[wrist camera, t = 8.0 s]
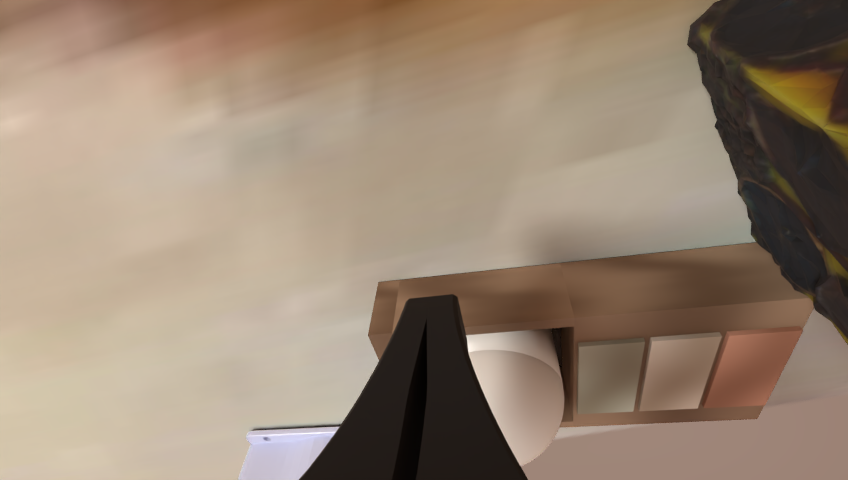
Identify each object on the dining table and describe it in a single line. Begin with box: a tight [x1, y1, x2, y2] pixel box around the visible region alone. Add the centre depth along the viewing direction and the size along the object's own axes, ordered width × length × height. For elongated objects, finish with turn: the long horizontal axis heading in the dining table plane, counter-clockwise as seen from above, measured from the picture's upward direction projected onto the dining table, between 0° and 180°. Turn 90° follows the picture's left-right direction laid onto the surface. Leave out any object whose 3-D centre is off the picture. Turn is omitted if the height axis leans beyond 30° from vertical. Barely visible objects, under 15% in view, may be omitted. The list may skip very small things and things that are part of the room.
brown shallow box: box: [368, 242, 814, 427], centre depth 20 cm, size 16×8×3 cm, turn 102°
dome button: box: [466, 328, 564, 466], centre depth 19 cm, size 6×6×6 cm
